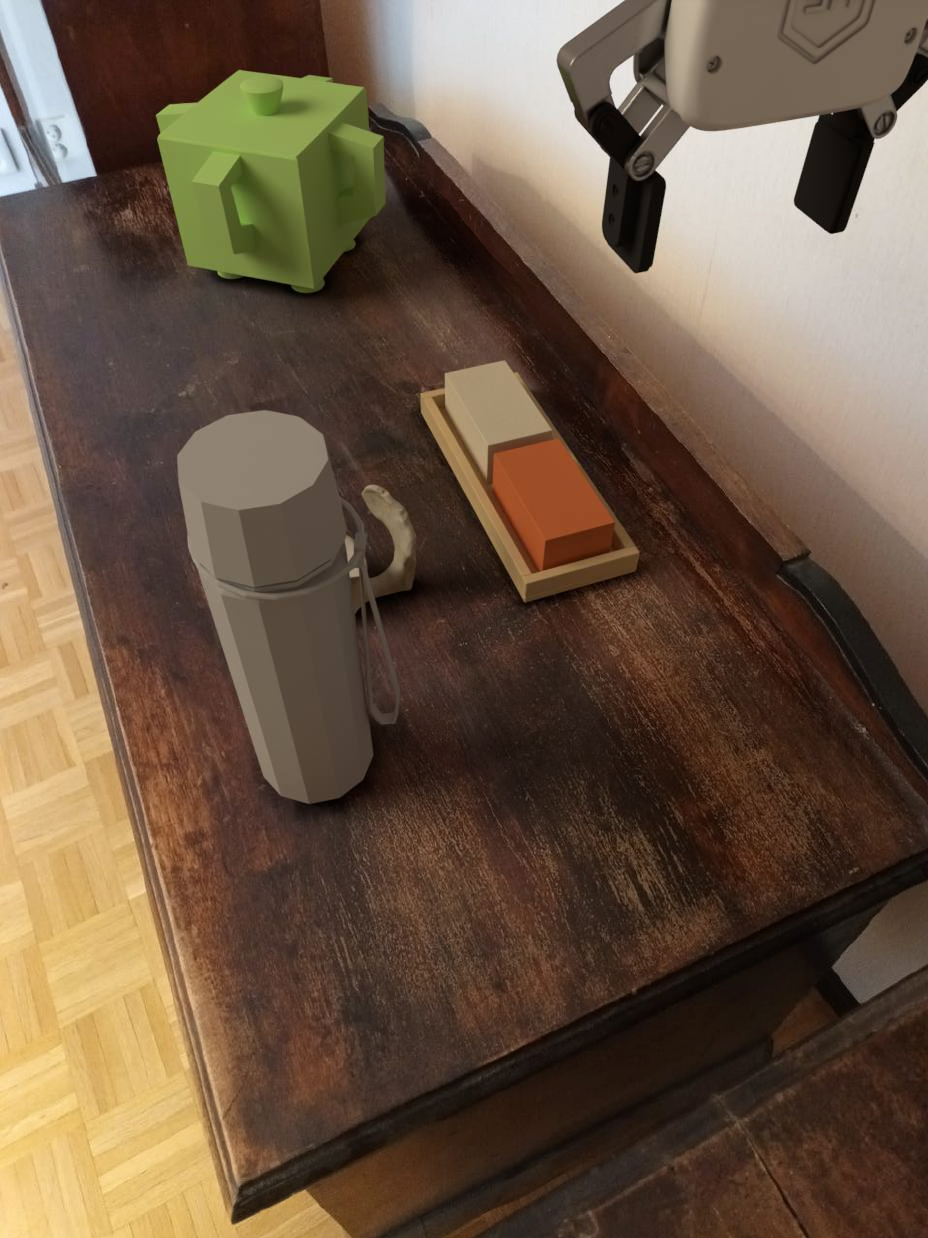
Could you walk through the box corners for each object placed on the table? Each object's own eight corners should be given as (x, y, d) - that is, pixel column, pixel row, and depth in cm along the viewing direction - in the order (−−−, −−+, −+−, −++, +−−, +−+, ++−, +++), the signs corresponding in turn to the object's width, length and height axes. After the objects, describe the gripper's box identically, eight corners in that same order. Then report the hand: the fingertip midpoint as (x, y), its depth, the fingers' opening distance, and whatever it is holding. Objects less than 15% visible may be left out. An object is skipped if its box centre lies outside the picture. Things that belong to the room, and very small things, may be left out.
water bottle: (250, 813, 56) (142, 517, 37) (271, 706, 61) (186, 397, 42) (400, 818, 56) (371, 523, 37) (409, 710, 61) (387, 402, 42)
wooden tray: (636, 571, 69) (640, 552, 68) (524, 603, 67) (526, 583, 66) (516, 391, 83) (517, 371, 82) (420, 412, 81) (420, 393, 80)
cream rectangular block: (548, 468, 76) (552, 429, 73) (486, 484, 74) (487, 445, 71) (503, 398, 82) (505, 359, 79) (445, 411, 80) (444, 372, 77)
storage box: (340, 340, 88) (319, 156, 75) (132, 299, 93) (78, 119, 79) (426, 218, 103) (422, 47, 90) (244, 188, 108) (214, 21, 95)
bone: (268, 603, 65) (295, 467, 61) (308, 580, 71) (335, 455, 67) (379, 645, 63) (413, 508, 60) (410, 618, 69) (443, 492, 66)
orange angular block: (608, 560, 69) (615, 522, 66) (541, 578, 68) (545, 540, 65) (554, 476, 75) (559, 437, 72) (492, 491, 74) (493, 453, 71)
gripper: (654, -274, 24) (584, 319, 37) (1169, -300, 28) (939, 244, 41) (538, -309, 28) (513, 231, 41) (995, -328, 32) (838, 171, 45)
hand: (724, 237), depth 41 cm, fingers open, 9 cm apart
